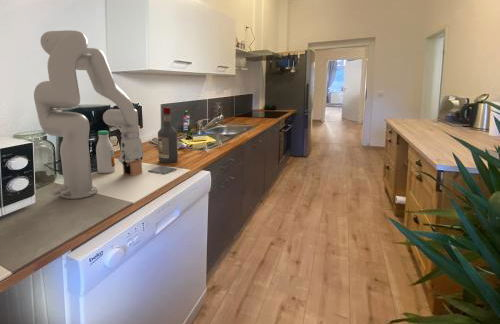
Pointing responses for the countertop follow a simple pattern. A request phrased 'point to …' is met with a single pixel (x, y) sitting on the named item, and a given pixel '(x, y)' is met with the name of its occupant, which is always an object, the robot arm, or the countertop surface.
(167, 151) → the liquor
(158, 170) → the coaster
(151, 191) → the countertop surface
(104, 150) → the milk bottle
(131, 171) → the cube
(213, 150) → the countertop surface
